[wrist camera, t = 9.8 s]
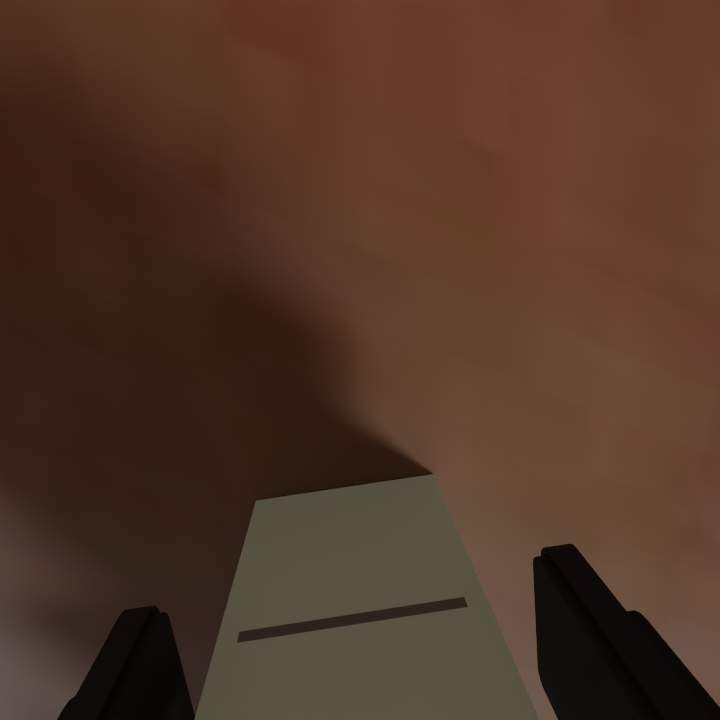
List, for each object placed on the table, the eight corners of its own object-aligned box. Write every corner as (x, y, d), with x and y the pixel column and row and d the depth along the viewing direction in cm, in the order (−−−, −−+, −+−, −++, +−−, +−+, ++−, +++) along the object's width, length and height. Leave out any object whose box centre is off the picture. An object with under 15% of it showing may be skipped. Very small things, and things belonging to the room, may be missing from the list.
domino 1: (255, 500, 14) (87, 1096, 4) (433, 473, 14) (659, 998, 4) (266, 551, 14) (133, 1203, 5) (438, 524, 14) (657, 1108, 5)
